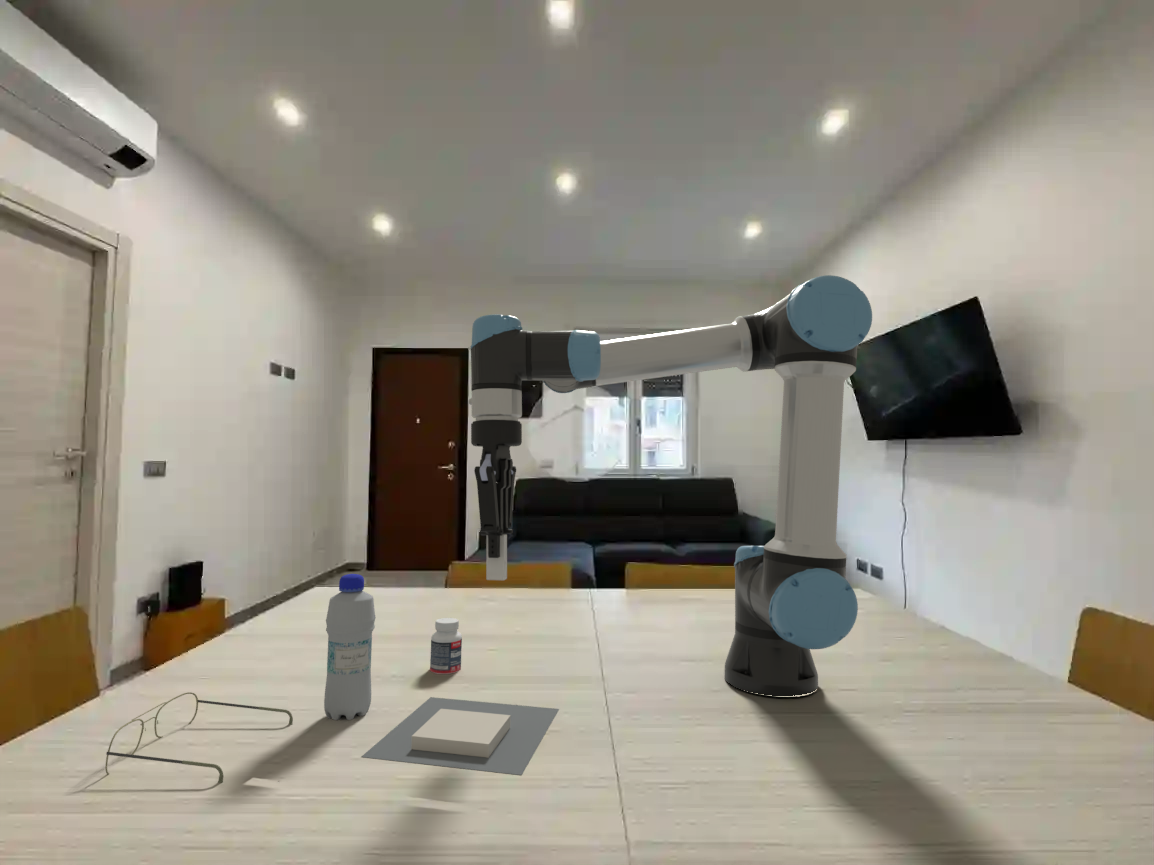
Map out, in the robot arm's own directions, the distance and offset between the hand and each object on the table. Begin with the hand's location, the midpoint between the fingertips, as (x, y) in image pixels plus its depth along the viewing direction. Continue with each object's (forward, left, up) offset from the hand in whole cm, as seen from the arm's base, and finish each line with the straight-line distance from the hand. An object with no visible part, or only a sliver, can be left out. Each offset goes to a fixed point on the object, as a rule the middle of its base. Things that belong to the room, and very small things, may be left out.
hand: (496, 579), depth 92 cm
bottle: (+20, +6, -19) cm, 28 cm away
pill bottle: (+14, -15, -19) cm, 28 cm away
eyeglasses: (+32, +19, -20) cm, 42 cm away
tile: (+1, +6, -18) cm, 19 cm away
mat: (+1, +8, -19) cm, 21 cm away
